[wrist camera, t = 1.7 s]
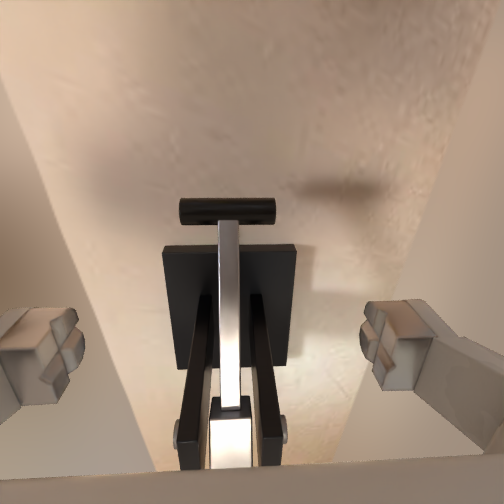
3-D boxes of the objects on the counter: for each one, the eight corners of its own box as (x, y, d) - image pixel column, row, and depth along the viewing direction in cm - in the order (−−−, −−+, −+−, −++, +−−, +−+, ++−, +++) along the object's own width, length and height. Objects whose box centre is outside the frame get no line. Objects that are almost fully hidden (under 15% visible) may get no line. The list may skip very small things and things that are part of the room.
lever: (184, 201, 18) (176, 194, 15) (271, 201, 18) (277, 194, 15) (188, 444, 18) (181, 475, 16) (273, 440, 18) (280, 470, 16)
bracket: (164, 245, 24) (102, 387, 12) (294, 244, 24) (349, 378, 13) (179, 359, 29) (145, 531, 18) (284, 356, 30) (317, 519, 18)
